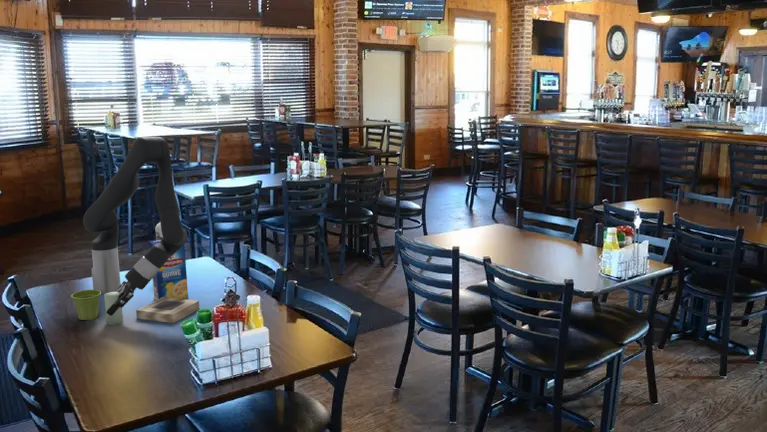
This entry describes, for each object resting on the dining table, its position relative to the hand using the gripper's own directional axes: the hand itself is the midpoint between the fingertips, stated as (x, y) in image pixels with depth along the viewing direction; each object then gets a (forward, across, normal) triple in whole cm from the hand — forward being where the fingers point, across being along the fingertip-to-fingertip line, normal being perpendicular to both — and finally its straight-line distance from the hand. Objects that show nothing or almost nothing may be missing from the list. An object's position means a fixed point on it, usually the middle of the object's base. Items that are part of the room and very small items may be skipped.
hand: (108, 311), depth 226 cm
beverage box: (-13, -18, +19) cm, 30 cm away
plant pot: (+7, -9, -1) cm, 12 cm away
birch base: (-11, -1, +17) cm, 20 cm away
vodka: (-16, -51, +22) cm, 58 cm away
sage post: (+2, 0, +4) cm, 5 cm away
